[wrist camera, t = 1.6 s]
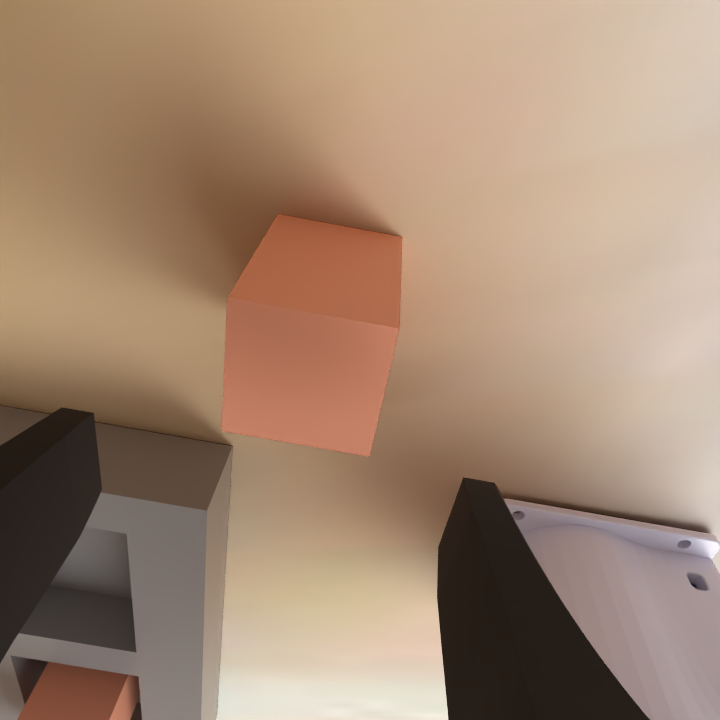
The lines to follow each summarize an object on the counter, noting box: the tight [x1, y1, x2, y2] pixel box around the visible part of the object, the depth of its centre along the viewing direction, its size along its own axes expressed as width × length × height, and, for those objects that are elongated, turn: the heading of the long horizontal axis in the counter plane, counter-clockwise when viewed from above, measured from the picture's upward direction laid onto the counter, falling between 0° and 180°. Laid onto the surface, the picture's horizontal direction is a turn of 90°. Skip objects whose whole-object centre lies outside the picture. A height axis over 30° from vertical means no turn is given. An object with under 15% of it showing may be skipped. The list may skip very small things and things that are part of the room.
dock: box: [0, 406, 233, 720], centre depth 26 cm, size 12×22×7 cm, turn 171°
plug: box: [222, 214, 402, 457], centre depth 17 cm, size 4×4×6 cm
